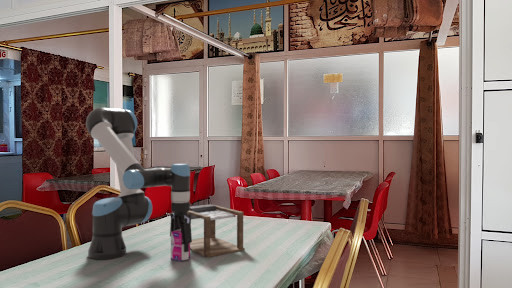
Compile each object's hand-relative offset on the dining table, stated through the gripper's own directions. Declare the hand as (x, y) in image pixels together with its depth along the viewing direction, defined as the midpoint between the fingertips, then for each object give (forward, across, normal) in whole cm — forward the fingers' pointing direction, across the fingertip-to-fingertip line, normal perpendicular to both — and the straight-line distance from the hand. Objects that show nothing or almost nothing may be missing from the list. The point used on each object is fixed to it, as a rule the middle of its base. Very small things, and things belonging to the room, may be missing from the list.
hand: (180, 257), depth 162 cm
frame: (+1, +8, -19) cm, 21 cm away
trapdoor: (-12, +8, -19) cm, 24 cm away
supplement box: (+1, 0, 0) cm, 1 cm away
